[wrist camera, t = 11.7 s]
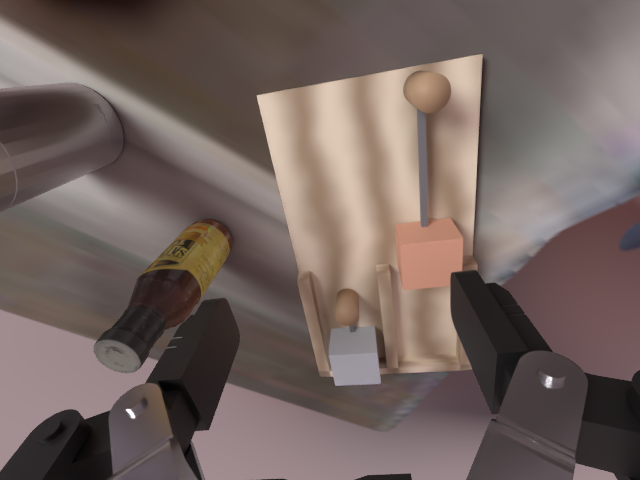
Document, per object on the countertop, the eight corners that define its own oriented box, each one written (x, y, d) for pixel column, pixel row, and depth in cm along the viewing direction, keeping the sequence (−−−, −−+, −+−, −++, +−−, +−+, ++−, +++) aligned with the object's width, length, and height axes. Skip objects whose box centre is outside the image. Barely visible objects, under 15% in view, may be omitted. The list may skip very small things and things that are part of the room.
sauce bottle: (211, 207, 42) (112, 313, 25) (244, 244, 44) (174, 364, 27) (176, 232, 44) (63, 346, 27) (209, 266, 46) (124, 391, 29)
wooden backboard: (321, 361, 54) (320, 377, 51) (259, 94, 35) (251, 97, 33) (465, 353, 50) (471, 369, 48) (478, 54, 32) (490, 54, 29)
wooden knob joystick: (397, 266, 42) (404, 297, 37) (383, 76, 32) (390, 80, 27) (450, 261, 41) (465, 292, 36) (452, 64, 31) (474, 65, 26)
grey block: (336, 357, 52) (335, 385, 47) (322, 290, 46) (319, 315, 41) (378, 355, 51) (381, 383, 46) (369, 286, 45) (371, 311, 40)
